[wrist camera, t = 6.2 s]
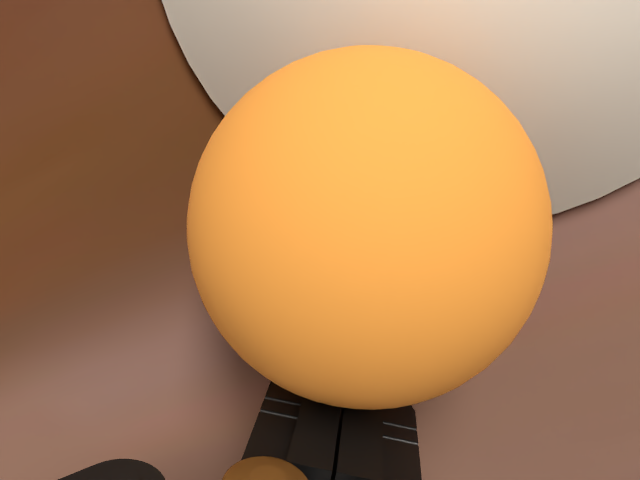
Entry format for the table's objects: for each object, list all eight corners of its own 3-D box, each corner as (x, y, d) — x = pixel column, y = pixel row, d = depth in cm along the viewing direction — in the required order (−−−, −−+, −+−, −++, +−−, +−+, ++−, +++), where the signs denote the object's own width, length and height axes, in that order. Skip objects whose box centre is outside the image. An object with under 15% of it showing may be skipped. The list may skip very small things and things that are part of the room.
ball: (505, 304, 13) (588, 38, 10) (492, 546, 8) (655, 169, 5) (268, 248, 14) (272, -1, 11) (132, 425, 9) (69, 68, 6)
